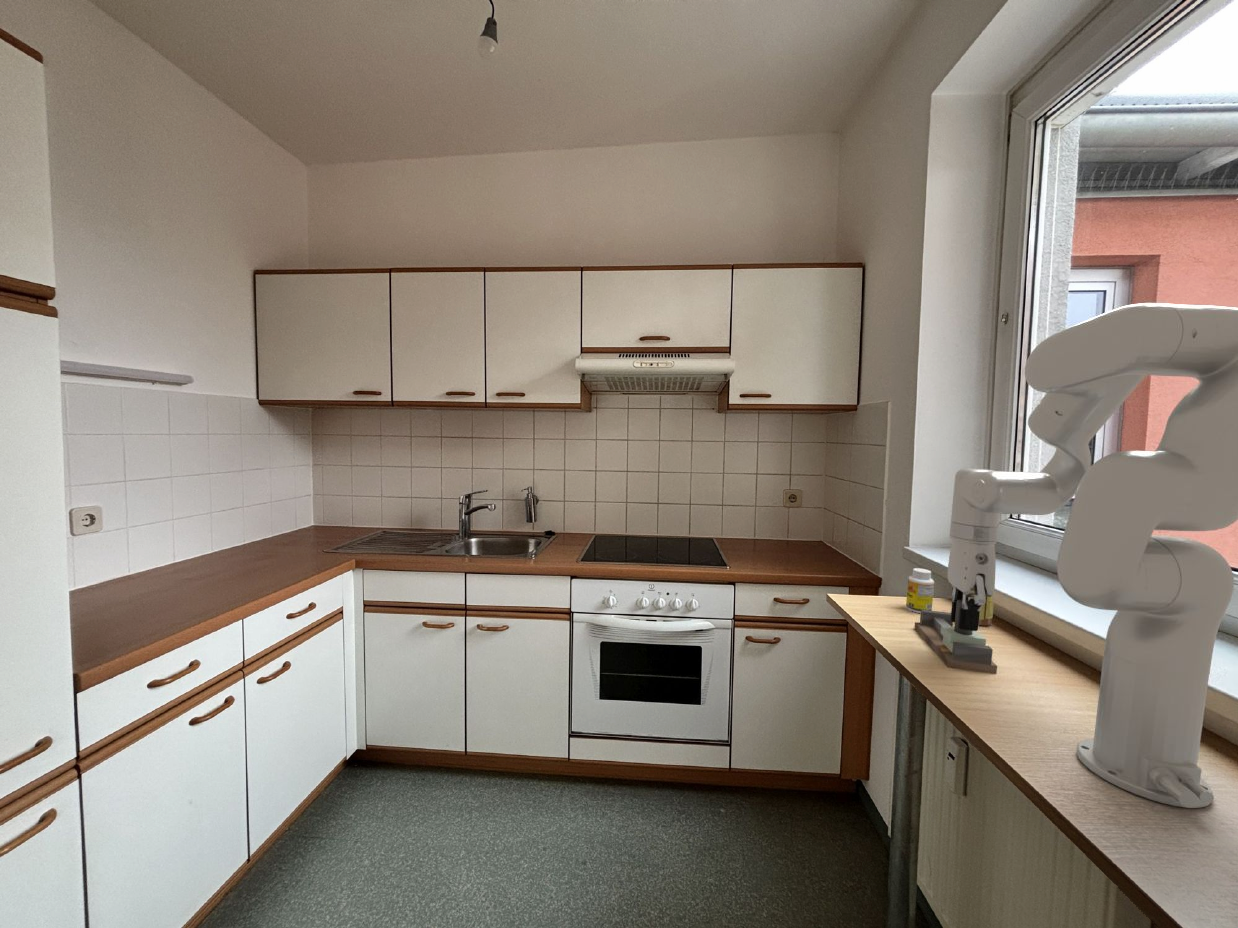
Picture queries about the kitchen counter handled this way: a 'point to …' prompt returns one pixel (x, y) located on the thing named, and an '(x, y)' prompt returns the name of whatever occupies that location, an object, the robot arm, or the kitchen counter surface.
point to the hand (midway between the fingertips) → (963, 625)
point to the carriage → (960, 633)
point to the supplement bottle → (920, 591)
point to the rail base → (962, 653)
